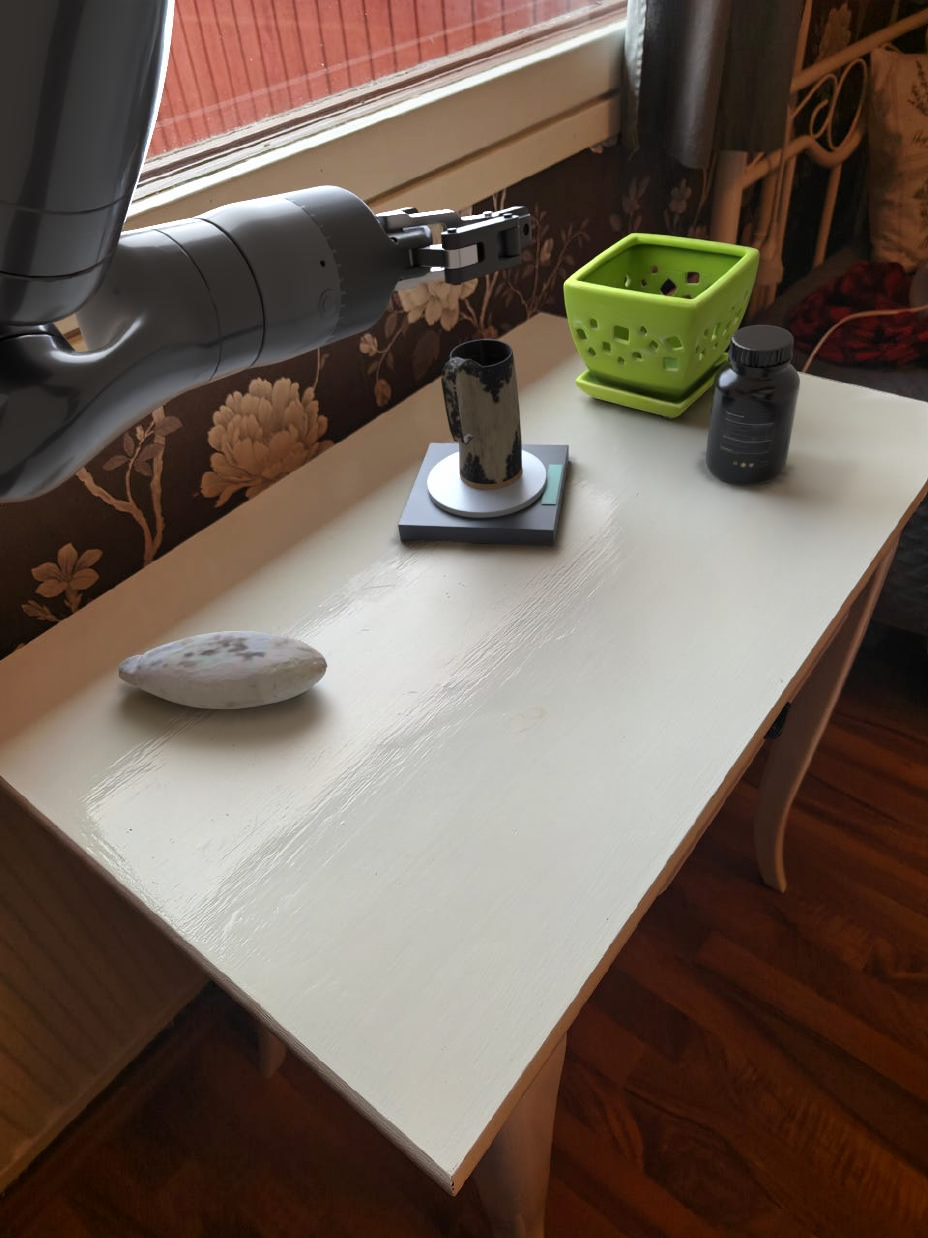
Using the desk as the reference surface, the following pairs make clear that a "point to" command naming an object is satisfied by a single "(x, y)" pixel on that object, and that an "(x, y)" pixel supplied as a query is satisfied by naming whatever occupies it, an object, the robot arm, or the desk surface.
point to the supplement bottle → (753, 407)
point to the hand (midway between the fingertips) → (467, 224)
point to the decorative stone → (226, 669)
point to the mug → (484, 413)
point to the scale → (486, 500)
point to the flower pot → (657, 319)
